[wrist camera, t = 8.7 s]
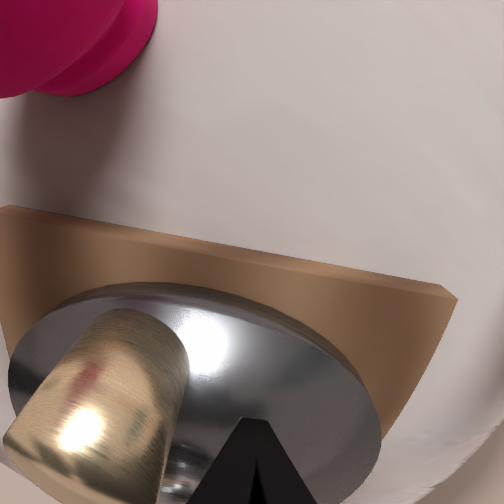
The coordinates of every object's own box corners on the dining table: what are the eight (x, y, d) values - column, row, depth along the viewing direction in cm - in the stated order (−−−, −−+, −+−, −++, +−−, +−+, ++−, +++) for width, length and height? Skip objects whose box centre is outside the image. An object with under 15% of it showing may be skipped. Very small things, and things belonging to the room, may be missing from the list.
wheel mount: (62, 461, 17) (56, 474, 15) (9, 205, 11) (-11, 211, 10) (310, 508, 18) (312, 523, 17) (440, 285, 12) (458, 298, 11)
